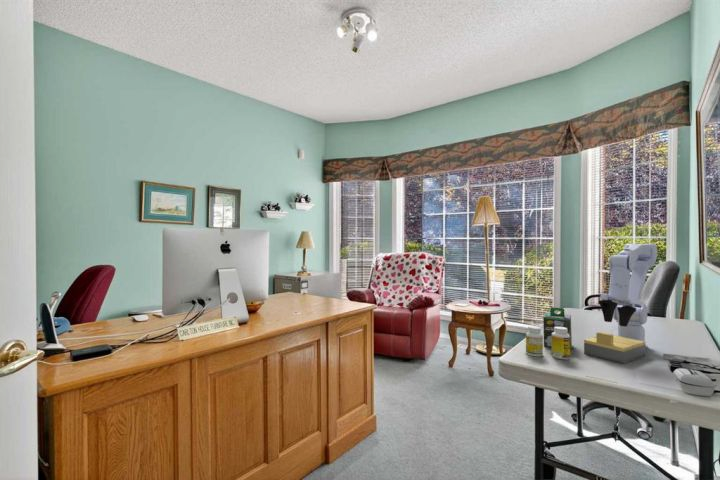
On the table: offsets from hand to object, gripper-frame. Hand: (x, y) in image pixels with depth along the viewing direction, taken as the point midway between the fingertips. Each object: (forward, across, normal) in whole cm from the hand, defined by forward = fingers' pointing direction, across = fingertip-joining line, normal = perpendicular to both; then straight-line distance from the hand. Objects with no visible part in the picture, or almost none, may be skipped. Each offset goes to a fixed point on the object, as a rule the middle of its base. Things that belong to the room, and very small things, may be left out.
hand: (615, 324), depth 123 cm
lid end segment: (+8, -4, -1) cm, 9 cm away
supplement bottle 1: (+17, -25, +9) cm, 32 cm away
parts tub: (+11, +2, +1) cm, 11 cm away
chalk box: (+12, -8, +15) cm, 21 cm away
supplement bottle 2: (+16, -19, +4) cm, 25 cm away
